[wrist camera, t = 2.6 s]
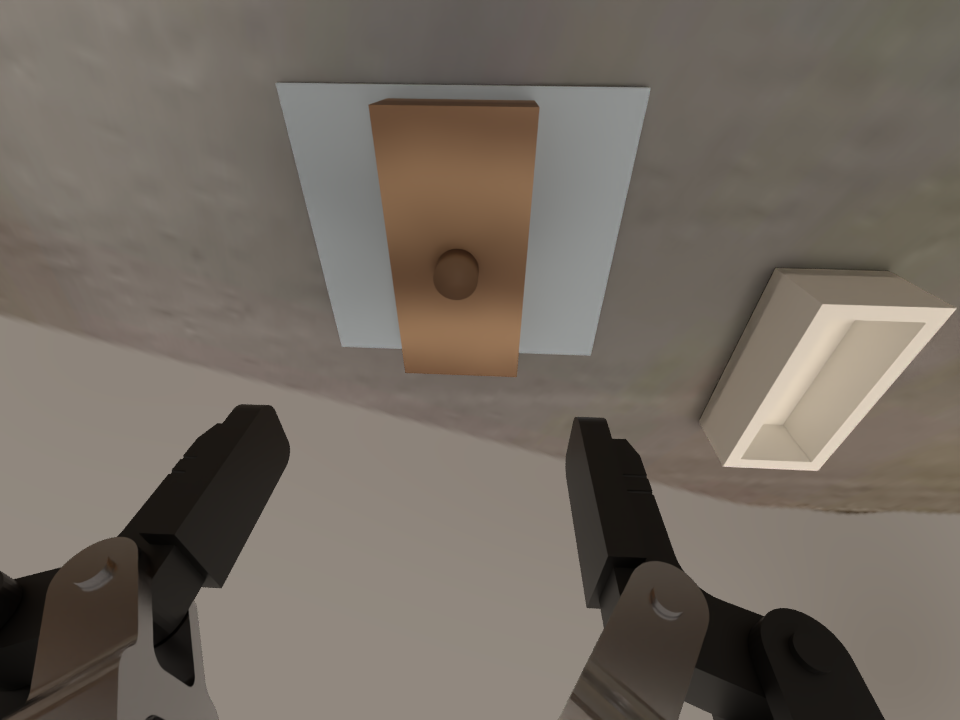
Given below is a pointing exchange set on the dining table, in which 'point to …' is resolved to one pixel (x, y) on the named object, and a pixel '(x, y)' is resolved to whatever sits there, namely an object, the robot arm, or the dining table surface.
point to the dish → (815, 364)
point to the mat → (554, 209)
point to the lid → (457, 227)
